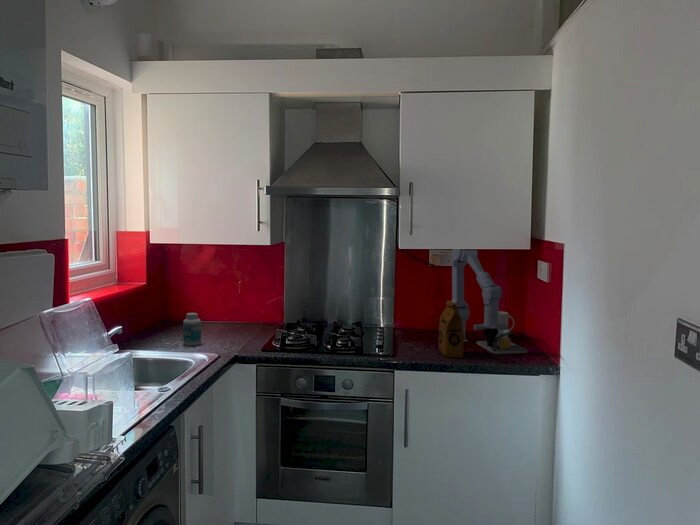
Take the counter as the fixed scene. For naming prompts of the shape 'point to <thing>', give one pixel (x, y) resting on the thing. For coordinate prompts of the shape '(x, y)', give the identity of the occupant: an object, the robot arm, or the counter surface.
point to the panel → (498, 350)
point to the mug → (504, 320)
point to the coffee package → (451, 332)
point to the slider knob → (505, 342)
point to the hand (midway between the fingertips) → (489, 346)
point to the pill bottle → (192, 330)
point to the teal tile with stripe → (506, 332)
